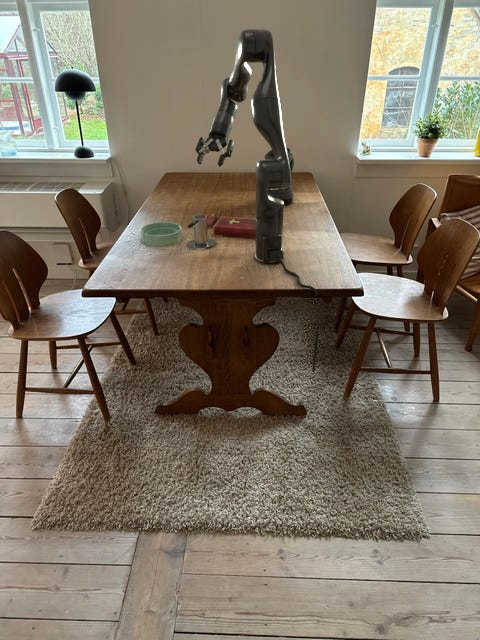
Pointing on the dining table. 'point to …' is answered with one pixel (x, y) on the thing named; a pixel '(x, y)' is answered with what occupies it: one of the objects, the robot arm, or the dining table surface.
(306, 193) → the dining table surface
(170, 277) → the dining table surface
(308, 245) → the dining table surface
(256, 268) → the dining table surface
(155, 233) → the bowl
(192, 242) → the coaster
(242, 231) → the hardcover book
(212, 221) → the popsicle
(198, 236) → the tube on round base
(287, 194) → the beer stein
